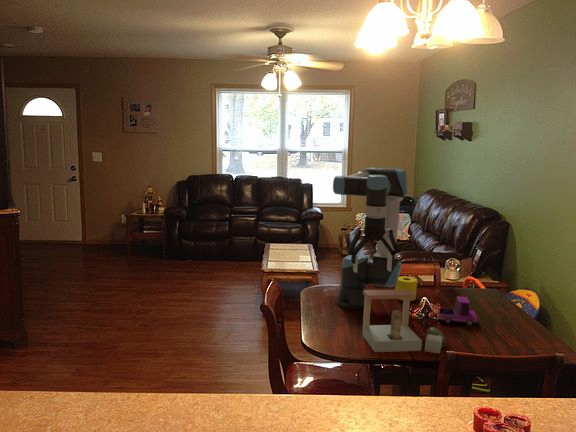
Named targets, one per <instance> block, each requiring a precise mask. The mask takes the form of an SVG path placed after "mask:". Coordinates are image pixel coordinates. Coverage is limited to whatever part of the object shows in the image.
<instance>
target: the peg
mask: <svg viewBox="0 0 576 432" xmlns="http://www.w3.org/2000/svg"><path fill="white" fill-rule="evenodd" d="M401 315H402V311H401V310H399V309H394V310H392V311H391V317H390V318H391V319H390V320H391V322H390V325H391V332H390V339H391V340H400V329H401Z"/></svg>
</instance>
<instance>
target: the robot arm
mask: <svg viewBox="0 0 576 432" xmlns="http://www.w3.org/2000/svg"><path fill="white" fill-rule="evenodd" d="M332 191H333V194H335V195H341V196H356V197H357V196H359V197H365V198H366V199H365V217H364V228H363V229H359V228H356V230H355V235H354V237H353V238H352V240H351V242H350V244H349V246H348V247H347V249H346V252H347V254H348V255H346V256H345V257H343V259H342V262H341V275H340V276H341V278H340V279H341V280H340V289H339V291H338V293H337V296H336V300H335V301H336V305H337V306H339V307H341V308H345V309H348V310H362V309H363V310H364V299H365V295H364V294H363V290H367V285H371V286H380V287H384V288H387V287H388V288H390V287H391V288H394V287H396V284H397V282H398V278H399V277H400V274H401V268H402V262H400V261H399V257H398V255H397V254H398V253H400V248H399V246H398V244H397V240H398V228H399V216H400V203H401V202H402V201H403V200H404V197H405V196H406V195H408V177H407V172H406V170H405V169H402V168H396V167H395V168H393V167H390V168H389V167H373V166H372V167H367V168H362V169H359V170H355V171H354V172H353V173H352V174H350V175H335V177H334V178H333V182H332ZM363 235H364V236H363ZM361 236H363V237H362V239H361ZM360 239H361V240H360ZM359 240H360V241H359ZM358 242H359V243H358ZM368 242H376V243H377V244H376V252H375V253H374V254H373V255H372V259H370V258H369V257H368V255H367V254H361V253H359V252H360V251H361V249H363V248H364V246H365V245H366V244H368ZM358 253H359V254H358Z"/></svg>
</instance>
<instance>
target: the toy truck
mask: <svg viewBox="0 0 576 432" xmlns="http://www.w3.org/2000/svg"><path fill="white" fill-rule="evenodd" d="M470 303H471V301H470V300H469V298H468V296H458V295H457V296H456V299H455V304H454V307H453V308H443V307H442V308H441V307H439V308H440V312H439V309H438V314H437V317H438V320H439V321H444V322H445V323H446V324H451V323H452V322H457V323H466V324H467V325H468V326H472V325H473V324H478V317H477V314H476V313H475V311H474V310H471V304H470Z"/></svg>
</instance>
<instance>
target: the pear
mask: <svg viewBox="0 0 576 432" xmlns="http://www.w3.org/2000/svg"><path fill="white" fill-rule="evenodd" d="M428 334H430V335H435V336H441V337H443V338H442V348H444V347H446V346H447V344H448V343H447V341H446V340H447V339H446V338H445V337H444V334H443V333H442V331H441V330H440V329H439V328H437V327H434V326H431V327H429V328H428V329H427V330H426V333H425V336H426V337H427V335H428Z"/></svg>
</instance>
